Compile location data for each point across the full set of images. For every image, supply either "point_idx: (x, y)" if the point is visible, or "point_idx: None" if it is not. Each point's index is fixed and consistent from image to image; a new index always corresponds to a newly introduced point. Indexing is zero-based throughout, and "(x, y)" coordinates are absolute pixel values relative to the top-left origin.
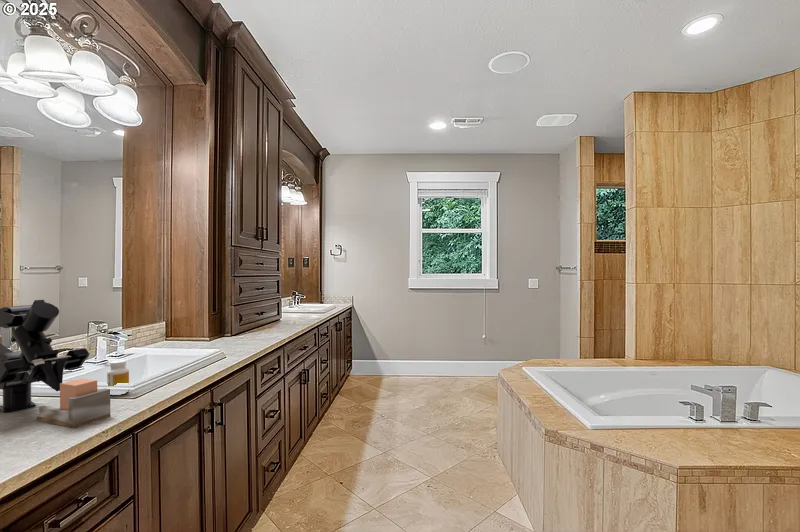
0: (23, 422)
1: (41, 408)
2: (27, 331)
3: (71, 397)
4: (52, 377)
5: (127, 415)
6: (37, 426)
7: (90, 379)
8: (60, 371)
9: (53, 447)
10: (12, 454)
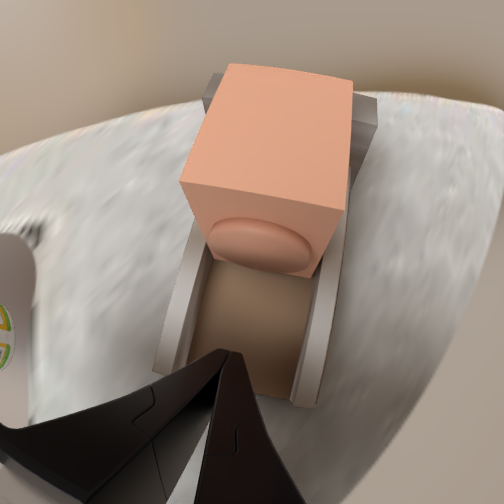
0: (338, 436)
1: (318, 386)
2: None
3: (364, 121)
4: (250, 407)
5: None
6: (368, 325)
7: (211, 103)
8: (145, 407)
9: (444, 125)
10: (497, 180)
